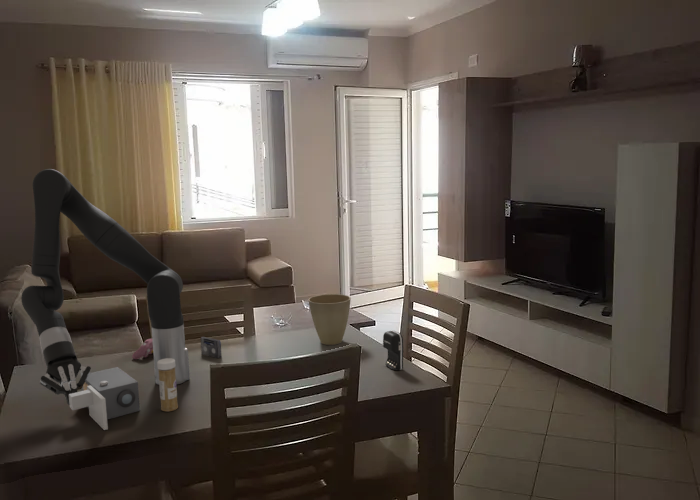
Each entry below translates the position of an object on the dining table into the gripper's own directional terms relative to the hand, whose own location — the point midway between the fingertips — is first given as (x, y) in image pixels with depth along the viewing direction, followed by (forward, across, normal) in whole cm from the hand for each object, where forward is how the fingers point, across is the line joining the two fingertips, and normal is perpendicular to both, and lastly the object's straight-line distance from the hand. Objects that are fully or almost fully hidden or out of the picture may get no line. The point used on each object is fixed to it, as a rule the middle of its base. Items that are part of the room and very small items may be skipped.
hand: (74, 404), depth 162 cm
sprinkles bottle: (+9, +22, -3) cm, 24 cm away
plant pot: (-4, +90, +11) cm, 90 cm away
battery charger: (+21, +88, -14) cm, 91 cm away
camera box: (+1, +10, +6) cm, 11 cm away
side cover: (+6, +2, -1) cm, 7 cm away
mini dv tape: (-15, +50, +21) cm, 57 cm away
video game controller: (-26, +34, +32) cm, 53 cm away
